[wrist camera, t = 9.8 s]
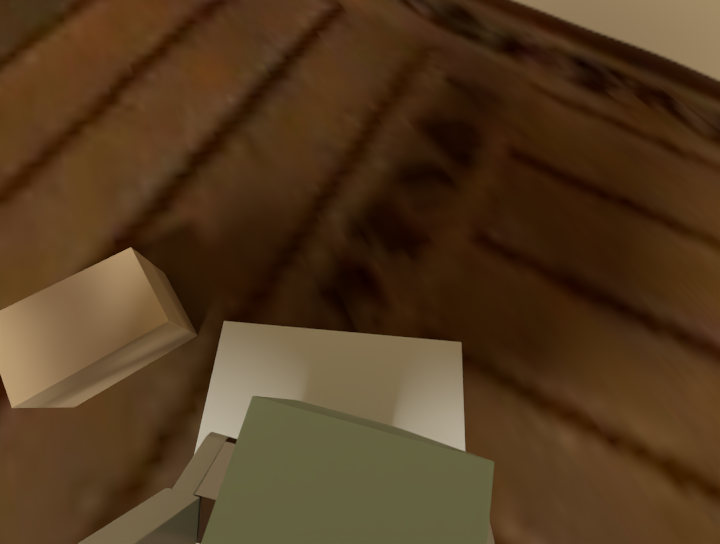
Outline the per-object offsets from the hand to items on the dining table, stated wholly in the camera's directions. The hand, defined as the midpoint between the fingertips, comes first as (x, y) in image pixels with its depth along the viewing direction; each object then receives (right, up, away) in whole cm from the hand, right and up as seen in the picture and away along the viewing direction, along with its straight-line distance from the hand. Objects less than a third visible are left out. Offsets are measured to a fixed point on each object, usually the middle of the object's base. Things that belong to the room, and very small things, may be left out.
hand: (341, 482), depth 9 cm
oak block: (-11, +3, +8) cm, 14 cm away
